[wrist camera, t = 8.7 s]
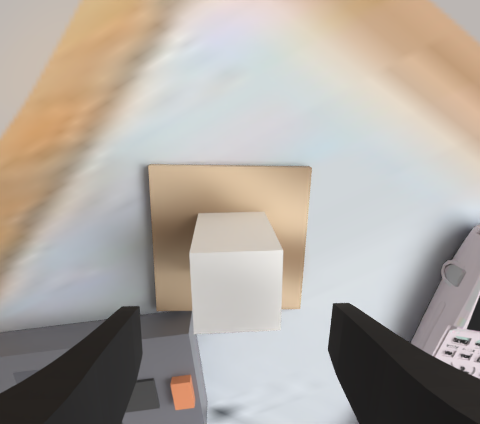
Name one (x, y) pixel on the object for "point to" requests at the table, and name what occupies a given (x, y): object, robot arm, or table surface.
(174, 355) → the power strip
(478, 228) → the mobile phone
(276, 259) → the white rectangular block
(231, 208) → the cork coaster
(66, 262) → the table surface
